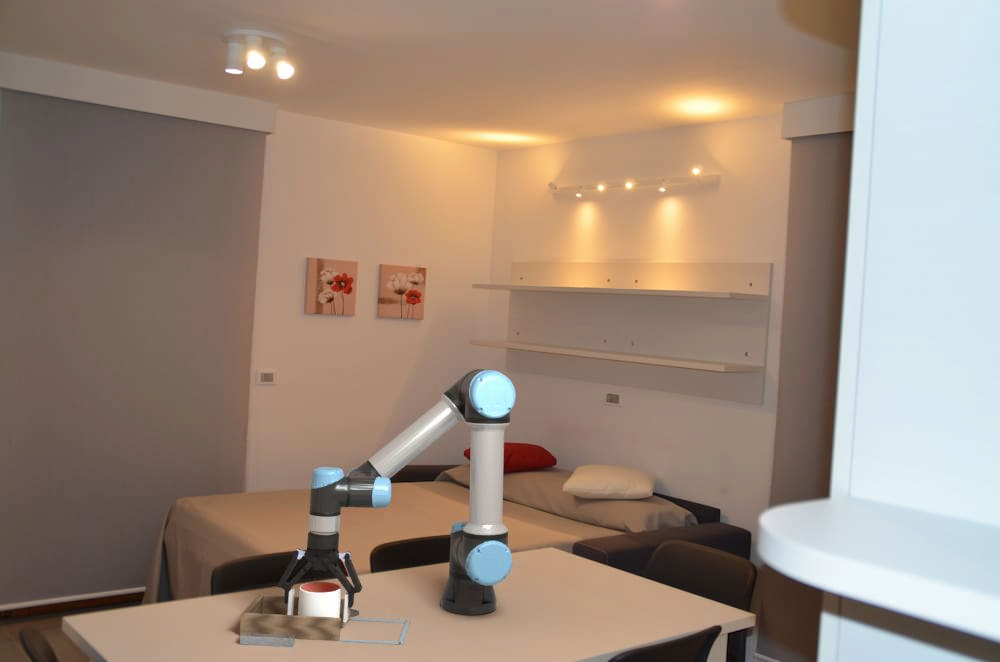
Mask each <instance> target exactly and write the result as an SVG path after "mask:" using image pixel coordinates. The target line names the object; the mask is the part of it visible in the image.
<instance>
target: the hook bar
mask: <svg viewBox="0 0 1000 662" xmlns="http://www.w3.org/2000/svg"><path fill="white" fill-rule="evenodd" d="M295 641H296V639H295V636H293V635H274V634H256V633H254V630H245V631H244V632H243V633H242V634H241V635H240V634H239V646H241V645H242V646H243V645H244V646H261V647H262V646H263V647H276V648H277V647H278V648H282V647H283V648H293V647H294V646H295V644H296V643H295Z"/></svg>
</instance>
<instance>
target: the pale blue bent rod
mask: <svg viewBox="0 0 1000 662" xmlns="http://www.w3.org/2000/svg"><path fill="white" fill-rule="evenodd" d="M351 621H360V622H361V621H362V622H381V623H382V622H383V623H396V624H397V623H401V624H404V625H403V628H402V632H401V634H400V636H399V640H398V641H391V640H390V641H384V640H368V639H367V640H366V639H349V638H340V642H345V643H365V644H383V645H400V646H401V645H403V644H404V641H405V637H406V635H407V633H408V632H407V631H408V628H409V625H410V620H399V619H398V620H397V619H396V620H395V619H380V618H378V619H377V618H362V617H361V618H360V617H352V618H351Z"/></svg>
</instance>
